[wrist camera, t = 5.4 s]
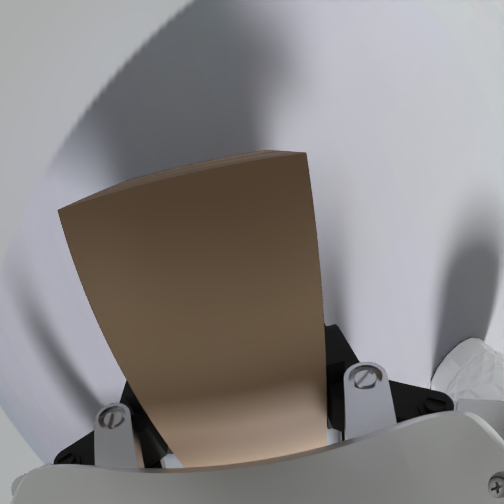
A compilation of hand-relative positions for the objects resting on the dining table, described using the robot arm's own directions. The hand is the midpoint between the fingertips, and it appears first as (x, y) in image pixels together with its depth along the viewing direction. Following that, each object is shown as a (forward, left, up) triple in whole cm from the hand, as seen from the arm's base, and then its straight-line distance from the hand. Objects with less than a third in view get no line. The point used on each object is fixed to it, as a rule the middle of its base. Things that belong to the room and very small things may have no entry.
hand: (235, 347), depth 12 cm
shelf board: (0, 0, -1) cm, 1 cm away
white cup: (-18, +13, -5) cm, 23 cm away
